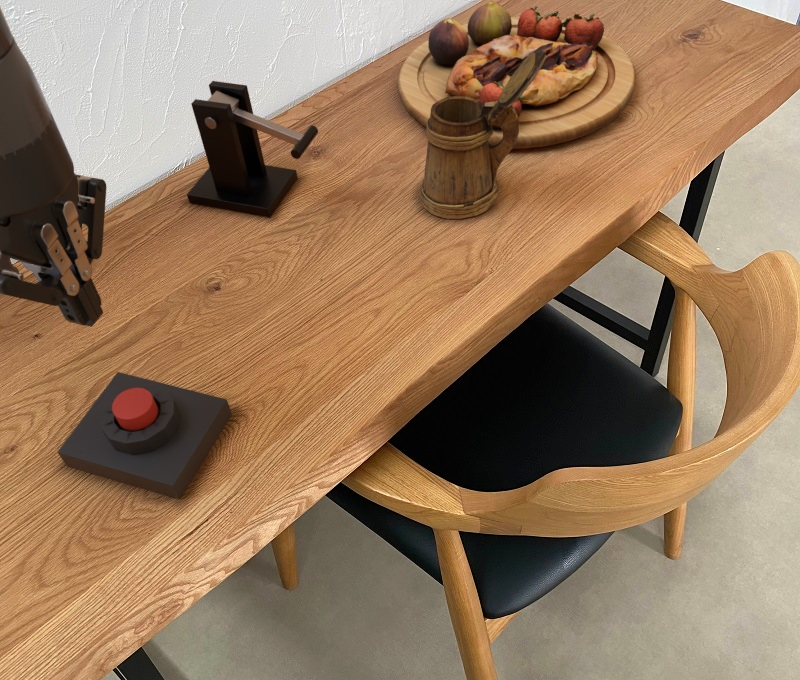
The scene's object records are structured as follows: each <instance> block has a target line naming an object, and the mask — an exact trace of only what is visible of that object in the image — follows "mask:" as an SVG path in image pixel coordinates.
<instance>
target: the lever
mask: <svg viewBox="0 0 800 680" xmlns="http://www.w3.org/2000/svg"><path fill="white" fill-rule="evenodd" d="M206 101H212V102H219V103H226V104H231V108H232V112H233V116H234V120H235V121H237V122H239V123H241V124H244V125H246V126H249V127H251V128H254V129H256V130H257V131H259V132H261V133H264V134H266V135H269V136H271V137H274V138H277V139H278V140H281V141H284V142H286V143H288V144H292V145H294V146H293V148H292V149H291V150H290V156H291V157H292V158H293V159H295V160H299V159H300V158H301V157H302V156H303V155H304V153H305V152H306V150H307V149H308V148H309V146H310V145H311V144H312V142H313V141H314V140H315V138H316V137H317V135H318V134H319V129H318V128H317V126H315V125H313V124H312V125H309V126H308V127H307V129H306V130H305V131H304V133H301V132H298V131H296V130H294V129H291V128H288V127H285V126H284V125H281V124H278V123H275V122H274V121H271V120H269V119H266V118H263V117H261V116H258V115H256V114H254V113H253V114H251V113H249V112H246V111H244V110H241V109H239V100H238V99H236V98H234V97H231V96H229V95H226V94H224V93H221V92H219V91H216V92H215V93H214V94H213V95H212V96H210V97H209V98H208V99H207V100H206Z"/></svg>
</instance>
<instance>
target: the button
mask: <svg viewBox="0 0 800 680" xmlns="http://www.w3.org/2000/svg"><path fill="white" fill-rule="evenodd" d="M112 411H113V414H114V415H115V417H116V419H117V421H118V423H119V424H120V426H121V427H122V428H124V429H126V430H129V431H138V430H142V429H144V428H146V427H148V426H150V425H151V424H152V423H153V422H154V421H155V419H156V418H157V415H158V407H157V405H156V403H155V401H154V398H153V396H152V394H151V393H150V392H149V391H148V390H146V389H143V388H132V389H128V390H126V391H124V392H122V393H121V394H119V395H118V396H117V397H116V398H115V400H114V402H113V404H112Z"/></svg>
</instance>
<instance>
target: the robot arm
mask: <svg viewBox="0 0 800 680" xmlns="http://www.w3.org/2000/svg"><path fill="white" fill-rule="evenodd" d="M7 21H8V20H7V19H6V17H5V15H4V12H3V10H2V7H1V6H0V294H1V295H5V296H9V297H13V298H18V299H22V300H25V301H26V300H27V301H30V302H35V303H40V304H44V305H47V306H48V305H49V306H53V307H58V309H59V310H60V312H61V314H62V316H63V317H64V320H65V321H67V322H68V323H72V324H76V325H80V326H86V327H93V326H94V325H95V324H96V323H97V322H98V320H99V319H100V318H101V317H102V316H103V314H104V310H103V308H102V305H103V304H102V298H101V296H100V294H99V291H98V289H97V287H96V285H95V284H94V281H93V278H92V276H93V269H92V267H91V265H92V263H93V261H94V260H98V259H100V258H101V257H102V254H103V247H104V246H103V245H104V229H105V217H106V216H105V215H106V200H107V183H106V181H105V179H102V178H98V177H91V176H87V175H81V174H76V173H75V165H74V162H73V159H72V156H71V155H70V152H69V150H68V148H67V145H66V143H65V141H64V139H63V136H62V134H61V131H60V129H59V127H58V124H57V123H56V121H55V118H54V116H53V113H52V110H51V109H50V106H49V104H48V101H47V99H46V97H45V95H44V92H43V91H42V88H41V86H40V84H39V83H40V82H39V81H38V79H37V77H36V75H35V73H34V71H33V68H32V67H31V65H30V64H29V61H28V59H27V58H26V57H25V55H24V54H23V52H22V50H21V49H20V47H19V45H18V43H17V41H16V39H15V37H14V36H13V33H12V30H11V28H10V26H9V24H8V22H7ZM83 225H85V226H86V227H87V240H86V237H85V235H84V233H83ZM11 259H12V260H15V261H17V262H18V261H19V262H20V263H21V264H22V266H23V267H24V268H25V269H27V270H28V271H30V272H31V273H32V274H33V275H34V277H35V279H36V280H37V282H30V281H26V280H24V278H25V276H24V274H23V273H22V272H20V271H19V268H18V267H17V266H15V265H13V263H12V261H11Z"/></svg>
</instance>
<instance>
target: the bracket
mask: <svg viewBox="0 0 800 680" xmlns="http://www.w3.org/2000/svg"><path fill="white" fill-rule="evenodd" d="M208 89H209V91H210V95H211V96H212V95H213V94H214V93H215V92H216V91H219V92H221V93H224V94H226V95H229V96H231V97H234V98H236V99H238V100H239V109H241V110H244V111H246V112H249V113H251V114H253V115H254V111H253V106H252V101H251V98H250V93H249V89H248V85H246V84H238V83H232V82H225V81H218V80H212V81H211V82H210V83H209V84H208ZM211 96H210V97H211ZM191 108H192V112H193V115H194V119H195V121H196V125H197V129H198V132H199V136H200V139H201V143H202V146H203V149H204V153H205V156H206V160H207V164H208V166H209V167H208V168H207V169H206V171H204V173H203V174H202V175H201V177H200V178H199V179H198V180H197V181H196V183H195V184H194V185H193V186H192V187H191V189H190V190H189V191H188V193H187V194H186V197H187V199H188V203H189V204H192V205H197V206H204V207H209V208H215V209H220V210H224V211H225V210H227V211H230V212H231V211H232V212H237V213H240V214H241V213H242V214H247V215H251V216H253V215H254V216H258V217H265V218H268V219H269V218H272V216H273V214H274V213H275V211H276V210H277V209H278V207H279V206H280V205H281V203H282V202H283V200H284V199H285V198H286V196H287V195H288V194H289V192H290V191H291V189H292V187H293V186H294V185H295V183H297V181H298V179H299V177H298V173H297V170H296V169H292V168H286V167H280V166H273V165H267V164H266V163H265V160H264V155H263V150H262V145H261V142H260V137H259V133H258V130H256V129H254V128H251V127H249V126H246V125H244V124H241V123H239V122H237V121H235V120H234V116H233V112H232V108H231V104H226V103H219V102H212V101H207V100H205V99H198V98H195V99H194V100H193V101H192V102H191Z"/></svg>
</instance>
